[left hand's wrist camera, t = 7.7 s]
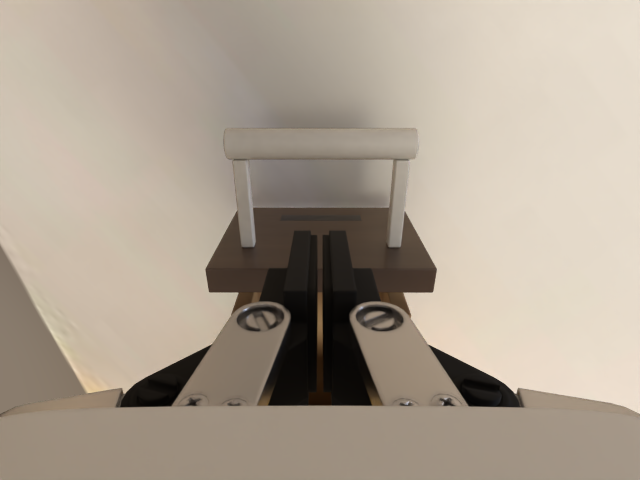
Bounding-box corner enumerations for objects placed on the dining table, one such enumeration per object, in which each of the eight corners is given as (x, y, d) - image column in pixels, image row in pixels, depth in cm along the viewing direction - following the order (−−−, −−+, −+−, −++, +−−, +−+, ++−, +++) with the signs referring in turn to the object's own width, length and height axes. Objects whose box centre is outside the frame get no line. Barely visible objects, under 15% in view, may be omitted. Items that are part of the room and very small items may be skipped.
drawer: (228, 112, 19) (184, 139, 13) (413, 112, 19) (458, 139, 13) (259, 408, 29) (242, 505, 23) (381, 408, 29) (398, 505, 23)
